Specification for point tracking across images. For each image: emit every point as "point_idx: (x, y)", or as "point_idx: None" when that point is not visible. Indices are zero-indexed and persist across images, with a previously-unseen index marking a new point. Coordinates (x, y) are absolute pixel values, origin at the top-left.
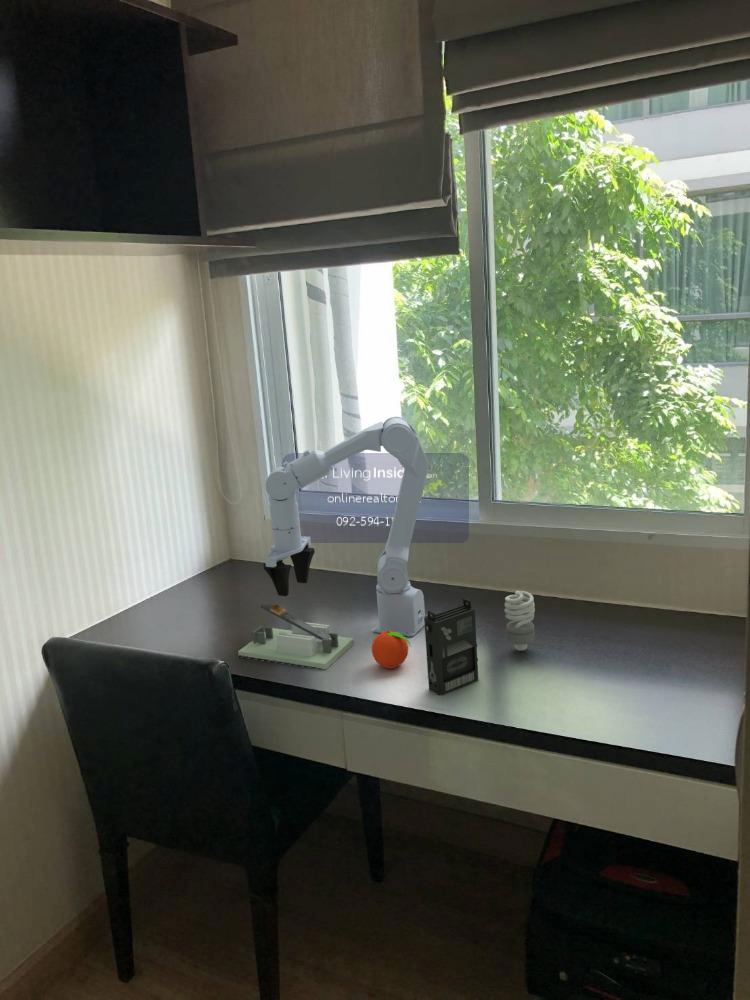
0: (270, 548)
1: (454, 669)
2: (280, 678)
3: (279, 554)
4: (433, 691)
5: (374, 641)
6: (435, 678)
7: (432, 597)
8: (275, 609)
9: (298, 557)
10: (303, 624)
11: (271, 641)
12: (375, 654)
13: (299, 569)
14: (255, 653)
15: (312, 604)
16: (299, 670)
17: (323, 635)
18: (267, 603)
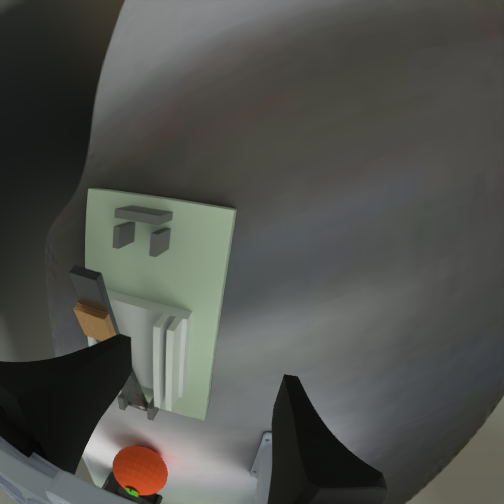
0: (57, 480)
1: None
2: (55, 313)
3: (5, 489)
4: (112, 472)
5: (120, 468)
6: (104, 484)
7: (418, 457)
8: (83, 322)
9: (282, 492)
10: None
11: (147, 252)
12: (115, 456)
13: (282, 434)
14: (86, 238)
15: (442, 259)
16: (84, 339)
17: (133, 399)
18: (94, 287)
